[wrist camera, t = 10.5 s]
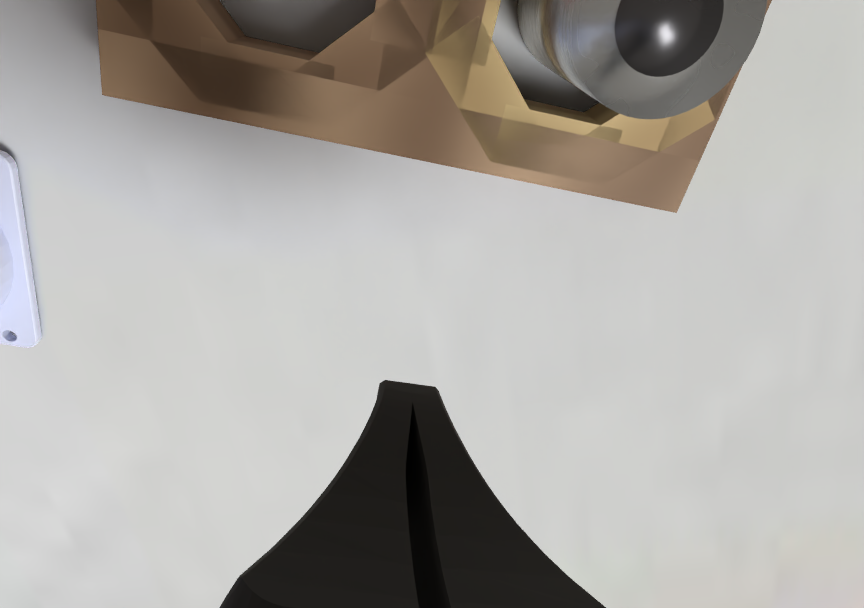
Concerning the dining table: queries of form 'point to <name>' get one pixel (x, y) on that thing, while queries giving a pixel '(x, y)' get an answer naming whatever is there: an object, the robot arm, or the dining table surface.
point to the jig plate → (399, 95)
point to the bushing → (643, 48)
